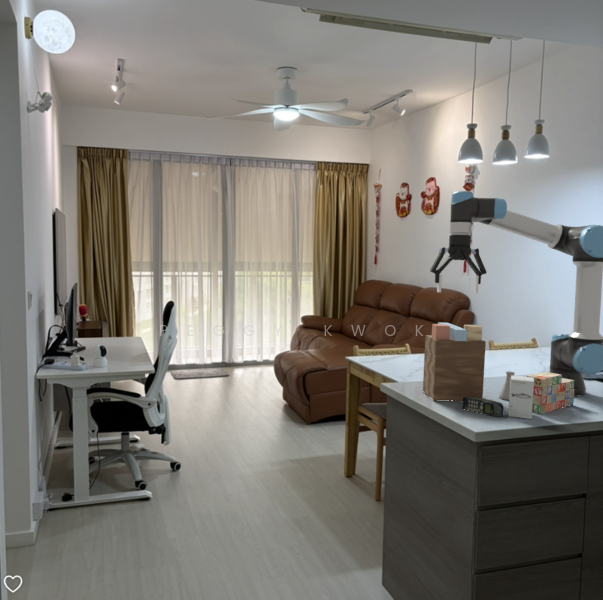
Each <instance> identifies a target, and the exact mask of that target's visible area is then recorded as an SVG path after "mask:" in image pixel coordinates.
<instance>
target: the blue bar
mask: <svg viewBox="0 0 603 600" xmlns="http://www.w3.org/2000/svg"><path fill="white" fill-rule="evenodd" d="M437 324H446V325H449V326H450V335H449V338H450V339H452V340H455V341H467V330H466V329H464V327H463V328H462V327H460V326H458V325H456V324H452V323H449V322H437Z"/></svg>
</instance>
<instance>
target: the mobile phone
mask: <svg viewBox="0 0 603 600" xmlns="http://www.w3.org/2000/svg"><path fill="white" fill-rule="evenodd" d="M461 407H462V408H461V409H462V410H463V409H465V410H469V411H468V412H470V411H474V412H473V413H475V412H478V413H477V414H480V413H482V414H481V415H484V414H486V415H485V416H488V415H489V417H503V418H508V417H509V416H508V415H506V414H504V404H503V403H501V401H500V402H499V401H495V400H492V399H485V398H483V399H480V398H474V397H464V398H463V402H462V406H461ZM465 410H464V411H465Z"/></svg>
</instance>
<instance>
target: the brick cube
mask: <svg viewBox="0 0 603 600" xmlns="http://www.w3.org/2000/svg"><path fill="white" fill-rule="evenodd" d="M431 326H432V327H431V335H432V338H434V339H436V340H449V335H450V326H449V325H446V324H438V323H432V325H431Z"/></svg>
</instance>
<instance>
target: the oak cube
mask: <svg viewBox="0 0 603 600" xmlns="http://www.w3.org/2000/svg"><path fill="white" fill-rule="evenodd" d="M463 329H466V330H467V340H482V338H483V337H482V336H483V326H482V325H478V324H464V325H463Z"/></svg>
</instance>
